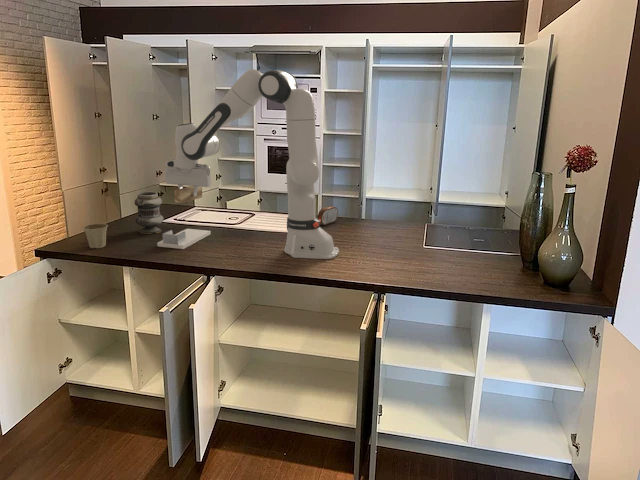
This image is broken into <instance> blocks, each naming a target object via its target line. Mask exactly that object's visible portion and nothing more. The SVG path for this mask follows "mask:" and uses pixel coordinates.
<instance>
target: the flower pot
mask: <svg viewBox="0 0 640 480" xmlns="http://www.w3.org/2000/svg"><path fill="white" fill-rule="evenodd" d="M108 227H109V225H108V224H106V223H92V224H87V225H83V227H82V230H84V233H85V237H86V239H87V242H88V246H89V248H90V249H101V248H104V247H106V245H107V229H108Z"/></svg>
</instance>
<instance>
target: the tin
mask: <svg viewBox="0 0 640 480" xmlns="http://www.w3.org/2000/svg"><path fill="white" fill-rule="evenodd" d="M338 214H339V210H338V208H337V207H336V206H333V205H329V206H326V207H322V208H321V209H320V210H319V212H318V214H317V217H316V218H317V219H318V220H320V219H321V222H320V225H322V226H326V225H329V224H333V223H334V222H336V221H337V219H338V216H339V215H338Z"/></svg>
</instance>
